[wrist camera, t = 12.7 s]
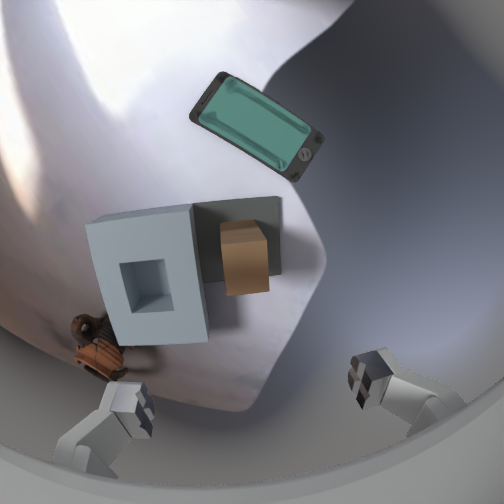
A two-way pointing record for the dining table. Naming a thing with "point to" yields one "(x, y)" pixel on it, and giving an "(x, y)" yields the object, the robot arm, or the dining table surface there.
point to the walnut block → (244, 257)
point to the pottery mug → (98, 348)
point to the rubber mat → (234, 210)
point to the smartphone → (257, 125)
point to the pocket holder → (150, 275)
